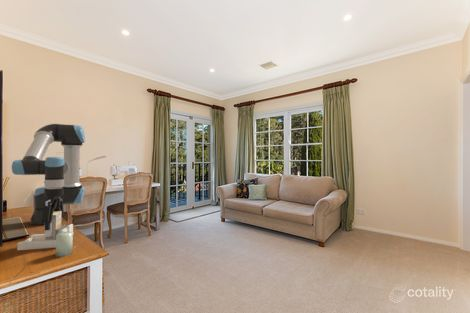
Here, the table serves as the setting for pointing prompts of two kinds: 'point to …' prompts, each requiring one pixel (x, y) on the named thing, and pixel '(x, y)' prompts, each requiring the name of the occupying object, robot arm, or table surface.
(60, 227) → the pusher
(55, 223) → the supplement box
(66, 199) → the robot arm
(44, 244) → the white open tray
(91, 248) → the table surface
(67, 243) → the sage jar
